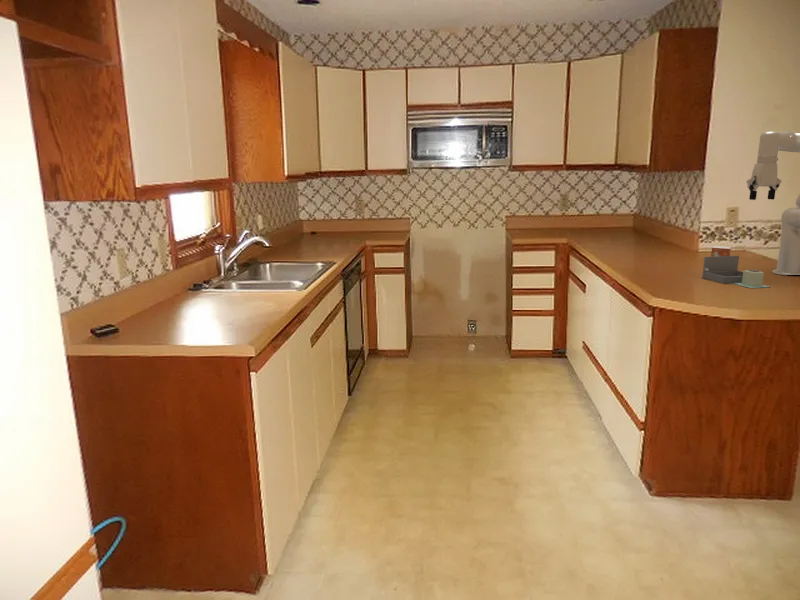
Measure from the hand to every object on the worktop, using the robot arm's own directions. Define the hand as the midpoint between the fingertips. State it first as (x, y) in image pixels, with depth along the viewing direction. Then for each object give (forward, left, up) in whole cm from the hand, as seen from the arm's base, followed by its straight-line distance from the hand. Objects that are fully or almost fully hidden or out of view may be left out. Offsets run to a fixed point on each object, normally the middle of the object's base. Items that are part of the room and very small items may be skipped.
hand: (761, 199), depth 269 cm
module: (+12, +13, -36) cm, 40 cm away
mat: (+12, +14, -36) cm, 41 cm away
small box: (+6, -14, -36) cm, 40 cm away
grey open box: (+12, +1, -36) cm, 38 cm away
